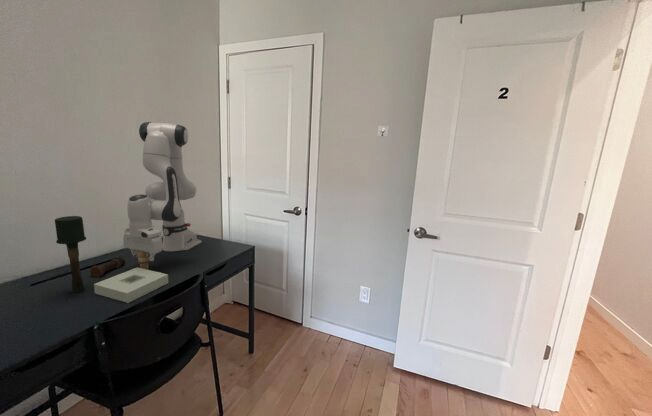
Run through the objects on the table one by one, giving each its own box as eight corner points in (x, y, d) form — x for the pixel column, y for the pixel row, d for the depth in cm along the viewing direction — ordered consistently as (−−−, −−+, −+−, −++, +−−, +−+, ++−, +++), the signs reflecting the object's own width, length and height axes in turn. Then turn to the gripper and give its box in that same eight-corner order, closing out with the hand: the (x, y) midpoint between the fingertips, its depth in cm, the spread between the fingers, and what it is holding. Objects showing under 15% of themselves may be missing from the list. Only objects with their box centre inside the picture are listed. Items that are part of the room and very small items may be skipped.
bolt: (124, 268, 139) (97, 280, 124) (116, 262, 139) (88, 274, 124) (129, 258, 138) (102, 270, 123) (121, 253, 138) (93, 264, 123)
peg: (145, 269, 134) (143, 247, 132) (152, 270, 133) (150, 248, 130) (136, 272, 130) (134, 250, 128) (143, 274, 129) (141, 251, 126)
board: (138, 275, 127) (137, 267, 126) (168, 283, 122) (167, 274, 121) (94, 293, 110) (93, 283, 110) (128, 303, 105) (127, 293, 104)
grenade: (84, 283, 117) (75, 214, 112) (97, 288, 114) (88, 217, 108) (59, 292, 110) (48, 218, 104) (71, 298, 107) (61, 221, 101)
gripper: (117, 229, 128) (120, 258, 130) (151, 235, 121) (154, 265, 124) (131, 226, 133) (133, 253, 136) (164, 231, 127) (166, 260, 130)
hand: (143, 259), depth 130 cm, fingers open, 8 cm apart
